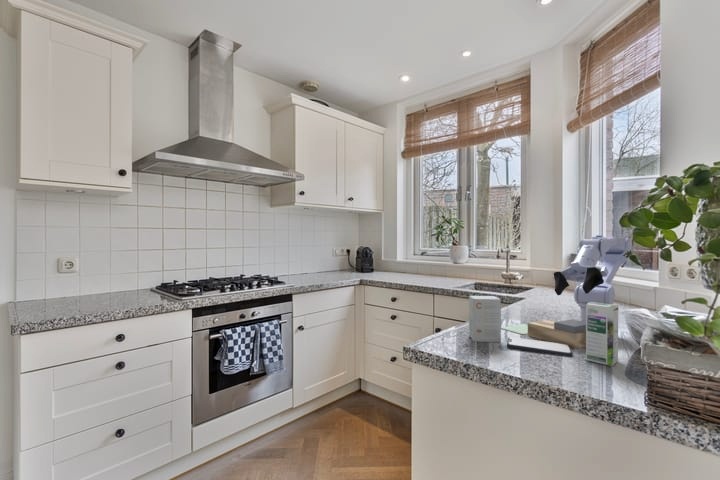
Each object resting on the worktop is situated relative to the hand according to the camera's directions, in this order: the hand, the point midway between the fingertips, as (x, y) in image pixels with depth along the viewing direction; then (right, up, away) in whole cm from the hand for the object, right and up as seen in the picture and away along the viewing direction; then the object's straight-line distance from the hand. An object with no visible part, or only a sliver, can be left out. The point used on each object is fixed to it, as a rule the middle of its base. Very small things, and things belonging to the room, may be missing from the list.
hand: (570, 291), depth 97 cm
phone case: (-10, -17, -1) cm, 19 cm away
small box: (-22, -16, +8) cm, 28 cm away
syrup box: (+1, -16, -11) cm, 20 cm away
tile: (+3, -12, +4) cm, 13 cm away
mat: (-4, -16, +19) cm, 26 cm away
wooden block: (+2, -16, +8) cm, 18 cm away
